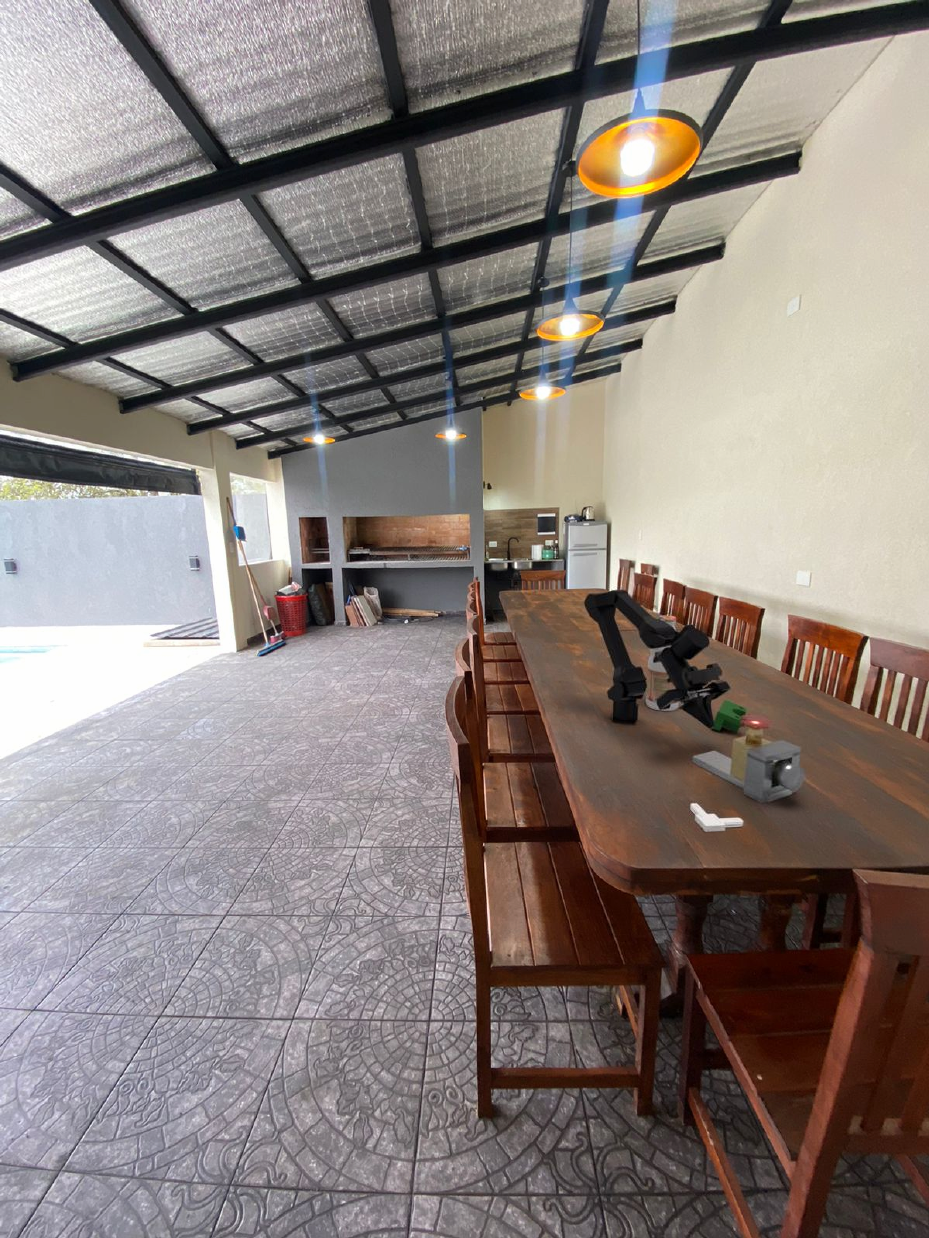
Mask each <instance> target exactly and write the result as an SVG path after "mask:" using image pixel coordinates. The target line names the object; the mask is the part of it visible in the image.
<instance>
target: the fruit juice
mask: <svg viewBox="0 0 929 1238" xmlns="http://www.w3.org/2000/svg"><path fill="white" fill-rule="evenodd" d="M658 619H659V620H662V621H664V622H666V623H668V624H669V625H671V626H672V627H673V628H674V629H675V630H676V623H677V617H676V616H674V615H666V614H665V615H659V616H658ZM676 631H677V630H676ZM669 647H671V646H669ZM664 648H666V647H662V648H655V649H650V648H649V651H650V655H649V657H648V662H647V676H646V679H647V680H646V683H647V688H646V691H645V692H646V693H645V703H646V706H647V707H648V708H650V709H653V710H656V711H662V712H669V711H670V712H671V711H673V712H674V711H675V710H678V709H679V705H680V701H678V702H673V703H670V704H671V705H670V708H669V709H665V710H660V709H659V708H658V706H657V698H658V697H659V696H661V695H662V694H663V693H665V692H666V691H667V690H671V689H675V687H674V685H673V683H668V682H667V679H668V678H669V676H668V674H667V673H666V671H665V669H664V667H663V665H662V664H661V662H658V663H653V658H654V656H655V652H661V651H662V650H663V649H664Z"/></svg>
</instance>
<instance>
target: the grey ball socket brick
mask: <svg viewBox="0 0 929 1238" xmlns="http://www.w3.org/2000/svg"><path fill="white" fill-rule="evenodd" d="M771 742H772V741H771ZM801 750H802V747H801V746H798V745H795V744H793V743H791V742H789V741H786V740H783V739H781V740H775V741H773V742H772V743H769V744H765V745H761V746H757V747H753V748H750V749H748V751H747V762H746V772H745V781H744V780H742V779H740V778H738V777H736V776H734V775H732V774H730V770H731V759H732V757H729V756H727V755H724V754H722V753H721V752H718V751H716V750H711V751H708V752H703V753H700V754H696V755H692V763H693V764H695V765H697V766H699V767H701V768H703V769H704V770H707V771H709V772H711V773H712V774H714V773H715V775H716V776H718V777H720V778H722V779H724V780H725V781H728V782H730V783H732V784H734V785H735V786H737V787H739V788H741V789H743V795H745V796H747V797H749V798H750V799H753V800H754V801H757V802H758V803H760V804H763V803H767V802H768V803H770V802H773V801H776V800H779V799H781V798H785V797H788V796H791V795H792V794H794V793H797V791H798V790H799V789H800V788H801V787H802V785H803V783H804V781H805V779H806V778H805V777H806V772H805V769H804V768H803V767H801V766H800V759H801ZM776 761H780V763H779V764H778V765H777V766H776V768H775V770H774V774H773V778H772V773H773V764H774V762H776Z"/></svg>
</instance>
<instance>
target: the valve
mask: <svg viewBox="0 0 929 1238" xmlns="http://www.w3.org/2000/svg"><path fill="white" fill-rule="evenodd" d="M740 722H741V725H743V726H746V730H745V731H746V733H745V735H744V736H740V737H737V738H734V739H732V750H731V770H730V774H732V775H734V776H736V777H738V778H740V779H742V780H744V781H745V772H746V762H747V751H748V749H750V748H753V747H757V746H761V745H765V744H769V743H772V741H770V740H767V739H766V738H764V737H763V735H764V729H769V728H772V721H771V720H770V719H768V718H766V717H764V716H760V715H755V714H745V715H743V716H741V719H740ZM779 763H780V761H776V762H774V764H773V773H772V778H773V774H774V770H775V768H776V766H777V765H778V764H779Z"/></svg>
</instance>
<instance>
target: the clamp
mask: <svg viewBox="0 0 929 1238" xmlns="http://www.w3.org/2000/svg"><path fill="white" fill-rule="evenodd" d="M747 710H748V709H747V708H746V707H744V706H742V705H739V704H736V703H735V702H732V701H729V700H727V699H724V700H723V702H722V704H721V705H720V707H719V708H718V710H717V712H716V716H715V718H714V719H713V720H714V725H715V727H713V728H711V729H712V730H715V731H717V732H720V731H721V730H722V728H725V729H726V730H729V731H731V732H734V733H738V731H739V729H740V727H741V725H742V723H741V722H740V719H741V716H743V715H746V713H747Z"/></svg>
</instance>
